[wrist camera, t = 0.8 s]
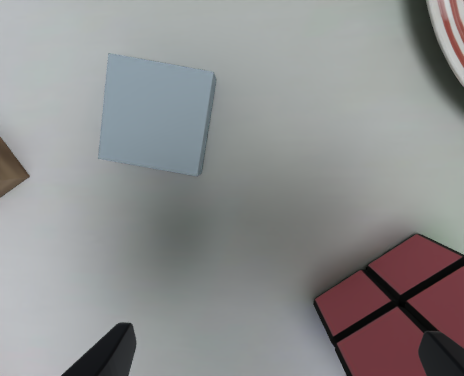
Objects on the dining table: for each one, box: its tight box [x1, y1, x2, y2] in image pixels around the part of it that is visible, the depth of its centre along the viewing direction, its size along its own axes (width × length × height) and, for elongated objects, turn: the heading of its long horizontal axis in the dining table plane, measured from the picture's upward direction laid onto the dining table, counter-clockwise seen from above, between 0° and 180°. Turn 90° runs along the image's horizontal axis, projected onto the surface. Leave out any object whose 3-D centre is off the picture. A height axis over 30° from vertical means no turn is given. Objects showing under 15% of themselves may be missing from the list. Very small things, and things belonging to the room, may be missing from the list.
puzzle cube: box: [314, 234, 464, 376], centre depth 17 cm, size 10×10×10 cm
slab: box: [98, 53, 216, 176], centre depth 19 cm, size 7×7×2 cm
